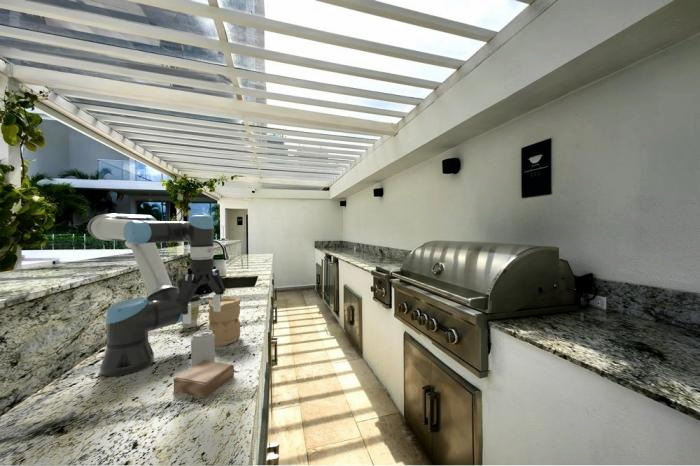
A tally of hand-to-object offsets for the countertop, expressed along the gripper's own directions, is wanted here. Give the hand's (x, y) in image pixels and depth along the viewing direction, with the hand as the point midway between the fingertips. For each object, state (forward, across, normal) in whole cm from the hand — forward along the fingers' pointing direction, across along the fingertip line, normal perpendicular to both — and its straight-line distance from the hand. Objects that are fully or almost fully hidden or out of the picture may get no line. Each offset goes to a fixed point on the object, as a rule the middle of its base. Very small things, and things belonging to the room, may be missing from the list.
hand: (203, 317), depth 99 cm
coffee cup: (+18, +32, +39) cm, 53 cm away
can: (+18, 0, 0) cm, 18 cm away
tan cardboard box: (+18, -10, -10) cm, 22 cm away
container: (+18, +20, +8) cm, 28 cm away
